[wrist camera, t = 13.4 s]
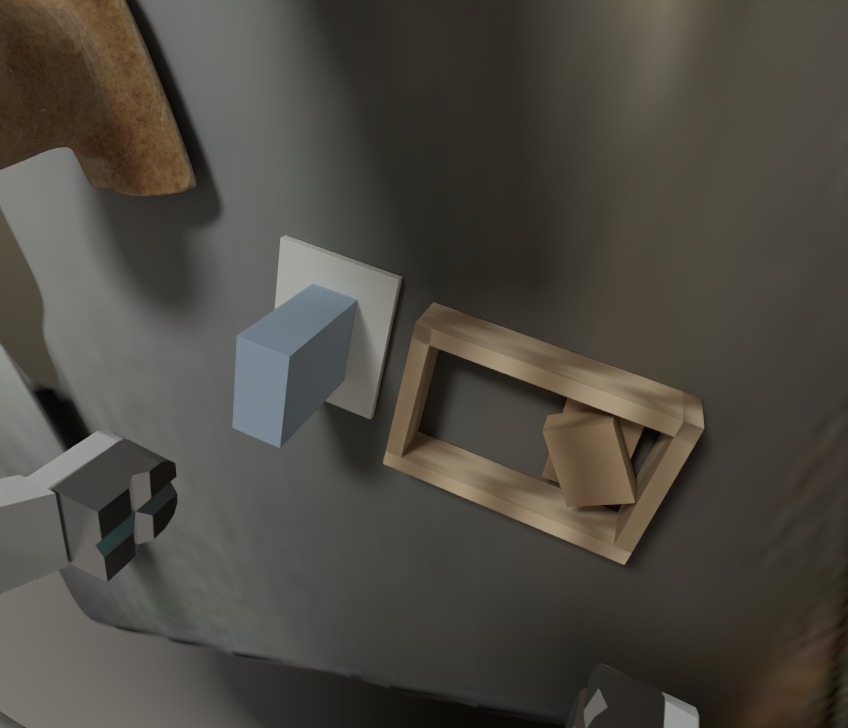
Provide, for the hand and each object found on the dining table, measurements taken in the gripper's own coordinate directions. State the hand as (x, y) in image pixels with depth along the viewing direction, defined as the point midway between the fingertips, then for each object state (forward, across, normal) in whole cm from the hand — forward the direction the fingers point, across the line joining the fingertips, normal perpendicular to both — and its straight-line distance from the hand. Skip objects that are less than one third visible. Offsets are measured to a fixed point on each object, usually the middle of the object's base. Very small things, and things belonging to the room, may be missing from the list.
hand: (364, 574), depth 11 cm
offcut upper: (+28, -5, +15) cm, 32 cm away
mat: (+29, +15, +14) cm, 35 cm away
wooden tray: (+29, -1, +16) cm, 33 cm away
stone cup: (+28, +34, +2) cm, 44 cm away
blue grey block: (+28, +15, +14) cm, 35 cm away
